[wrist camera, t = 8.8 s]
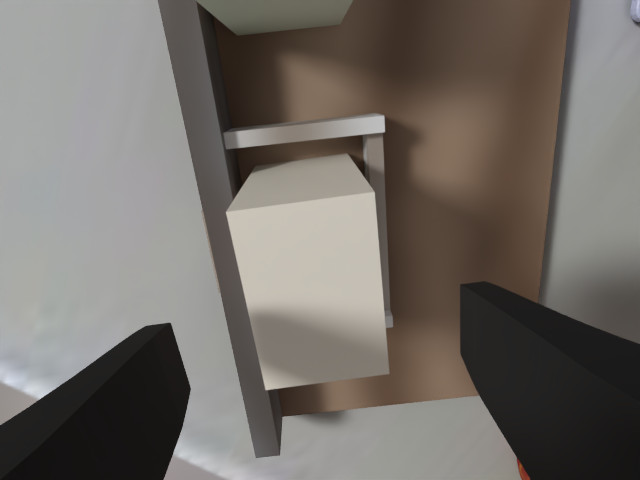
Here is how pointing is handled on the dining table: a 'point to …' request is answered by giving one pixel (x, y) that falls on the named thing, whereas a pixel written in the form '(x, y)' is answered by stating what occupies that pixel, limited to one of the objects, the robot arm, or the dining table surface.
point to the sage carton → (276, 14)
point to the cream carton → (311, 271)
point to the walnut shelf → (384, 164)
